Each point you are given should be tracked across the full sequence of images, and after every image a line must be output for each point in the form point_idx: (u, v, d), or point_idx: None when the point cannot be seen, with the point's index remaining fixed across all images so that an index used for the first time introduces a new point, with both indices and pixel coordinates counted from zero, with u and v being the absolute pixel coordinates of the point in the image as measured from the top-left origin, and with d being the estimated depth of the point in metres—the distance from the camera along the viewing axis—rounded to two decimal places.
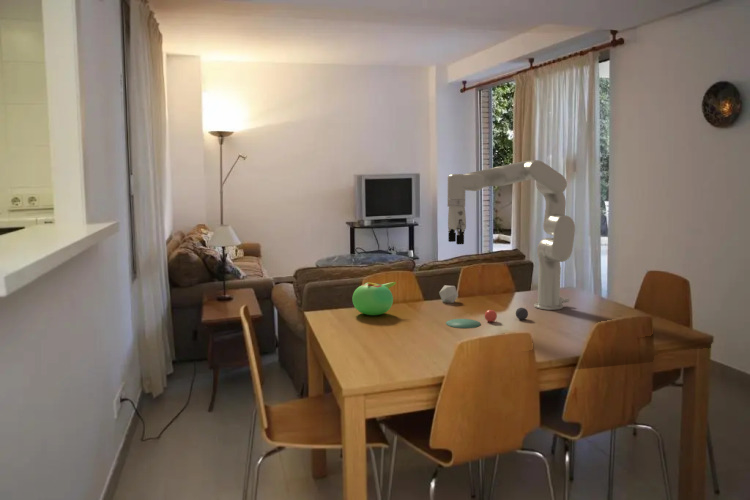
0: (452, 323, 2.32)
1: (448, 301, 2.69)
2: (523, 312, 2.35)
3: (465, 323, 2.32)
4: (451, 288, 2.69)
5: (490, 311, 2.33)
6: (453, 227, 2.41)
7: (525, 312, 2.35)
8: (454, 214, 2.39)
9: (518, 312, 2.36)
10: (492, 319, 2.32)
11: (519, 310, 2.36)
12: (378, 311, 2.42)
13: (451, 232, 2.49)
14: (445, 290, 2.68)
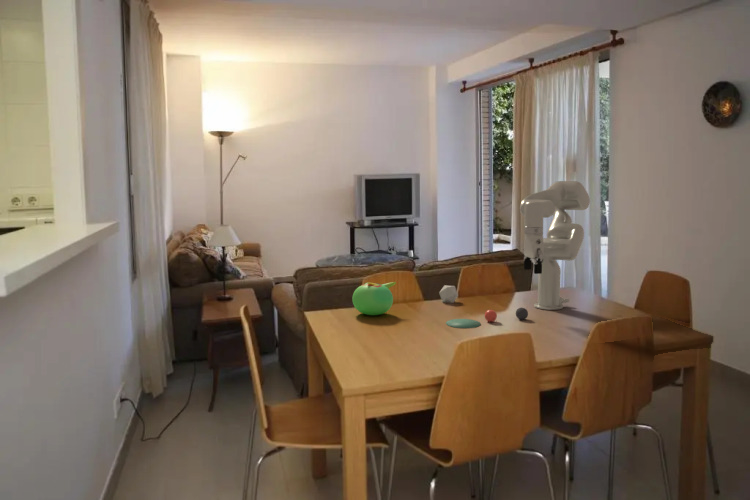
0: (452, 323, 2.32)
1: (448, 301, 2.69)
2: (523, 312, 2.35)
3: (465, 323, 2.32)
4: (451, 288, 2.69)
5: (490, 311, 2.33)
6: (530, 255, 2.35)
7: (525, 312, 2.35)
8: (532, 242, 2.33)
9: (518, 312, 2.36)
10: (492, 319, 2.32)
11: (519, 310, 2.36)
12: (378, 311, 2.42)
13: (527, 260, 2.43)
14: (445, 290, 2.68)
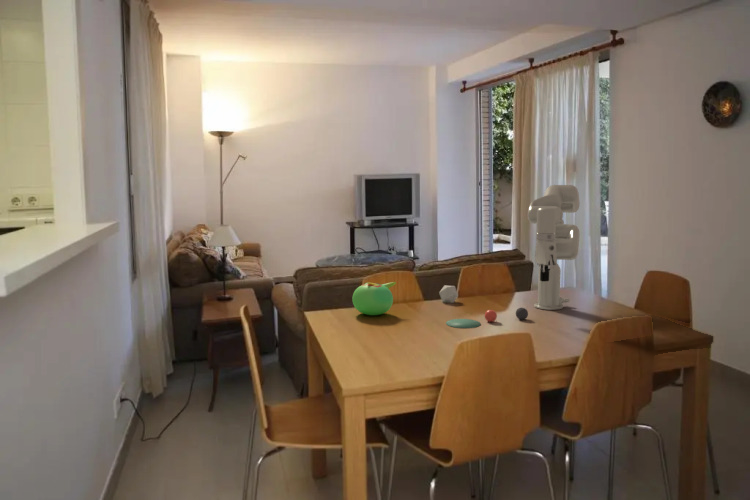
0: (452, 323, 2.32)
1: (448, 301, 2.69)
2: (523, 312, 2.35)
3: (465, 323, 2.32)
4: (451, 288, 2.69)
5: (490, 311, 2.33)
6: (543, 262, 2.34)
7: (525, 312, 2.35)
8: (545, 249, 2.32)
9: (518, 312, 2.36)
10: (492, 319, 2.32)
11: (519, 310, 2.36)
12: (378, 311, 2.42)
13: None
14: (445, 290, 2.68)
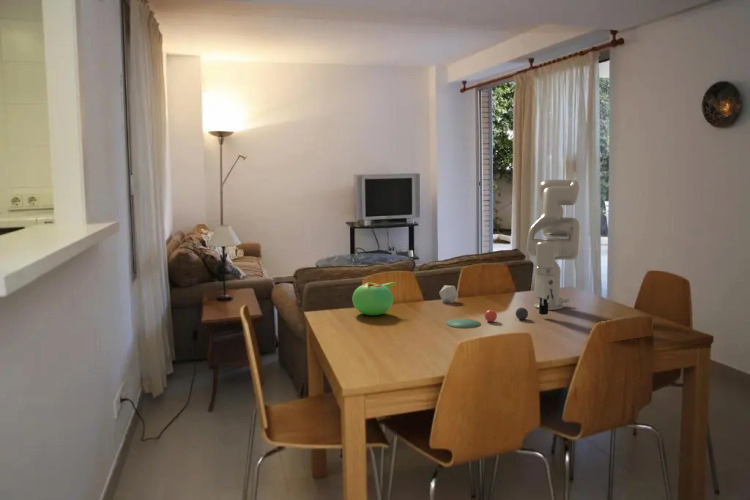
0: (452, 323, 2.32)
1: (448, 301, 2.69)
2: (523, 312, 2.35)
3: (465, 323, 2.32)
4: (451, 288, 2.69)
5: (490, 311, 2.33)
6: (542, 296, 2.36)
7: (525, 312, 2.35)
8: (544, 283, 2.34)
9: (518, 312, 2.36)
10: (492, 319, 2.32)
11: (519, 310, 2.36)
12: (378, 311, 2.42)
13: None
14: (445, 290, 2.68)
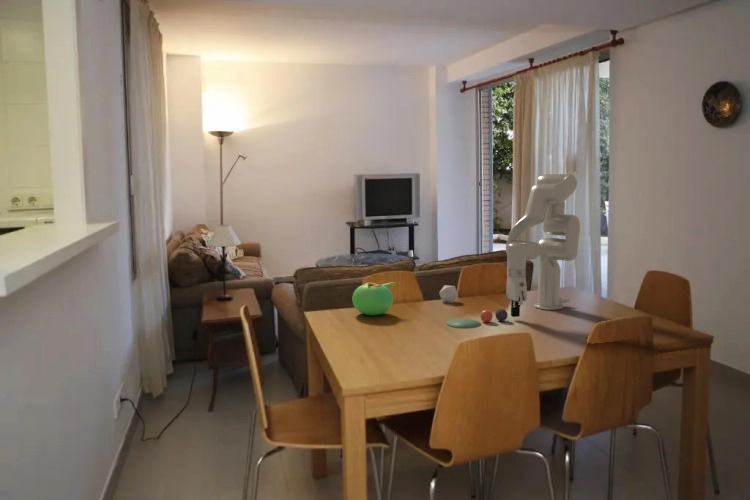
0: (452, 323, 2.32)
1: (448, 301, 2.69)
2: (505, 318, 2.34)
3: (465, 323, 2.32)
4: (451, 288, 2.69)
5: (483, 314, 2.32)
6: (513, 298, 2.33)
7: (503, 318, 2.33)
8: (515, 285, 2.31)
9: (507, 315, 2.35)
10: (489, 319, 2.32)
11: (506, 318, 2.35)
12: (378, 311, 2.42)
13: None
14: (445, 290, 2.68)
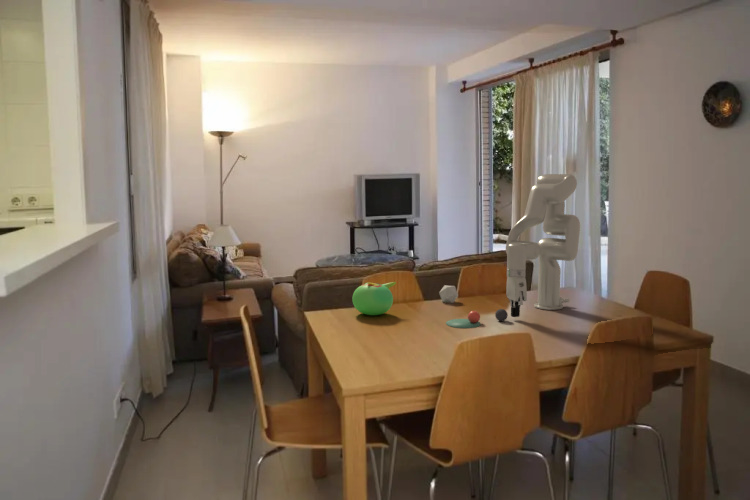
0: (452, 323, 2.32)
1: (448, 301, 2.69)
2: (505, 318, 2.34)
3: (465, 323, 2.32)
4: (451, 288, 2.69)
5: (475, 322, 2.32)
6: (513, 298, 2.33)
7: (503, 318, 2.33)
8: (515, 285, 2.31)
9: (507, 315, 2.35)
10: (476, 315, 2.31)
11: (506, 318, 2.35)
12: (378, 311, 2.42)
13: None
14: (445, 290, 2.68)
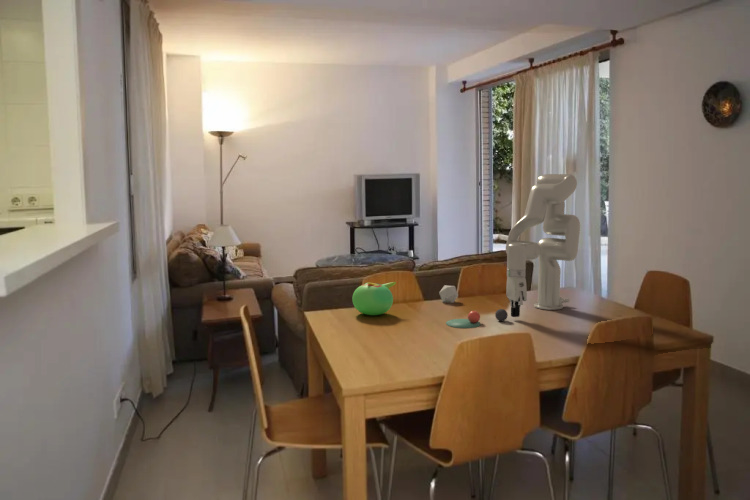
0: (452, 323, 2.32)
1: (448, 301, 2.69)
2: (505, 318, 2.34)
3: (465, 323, 2.32)
4: (451, 288, 2.69)
5: (475, 322, 2.32)
6: (513, 298, 2.33)
7: (503, 318, 2.33)
8: (515, 285, 2.31)
9: (507, 315, 2.35)
10: (476, 315, 2.31)
11: (506, 318, 2.35)
12: (378, 311, 2.42)
13: None
14: (445, 290, 2.68)
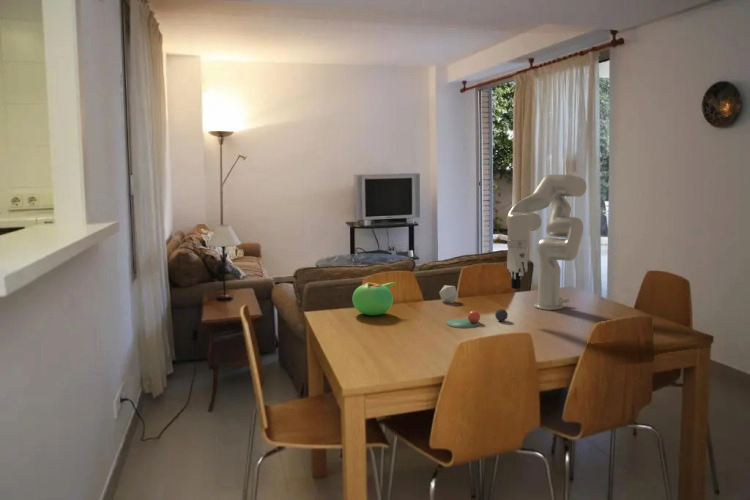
0: (452, 323, 2.32)
1: (448, 301, 2.69)
2: (505, 318, 2.34)
3: (465, 323, 2.32)
4: (451, 288, 2.69)
5: (475, 322, 2.32)
6: (514, 269, 2.31)
7: (503, 318, 2.33)
8: (516, 256, 2.29)
9: (507, 315, 2.35)
10: (476, 315, 2.31)
11: (506, 318, 2.35)
12: (378, 311, 2.42)
13: None
14: (445, 290, 2.68)
